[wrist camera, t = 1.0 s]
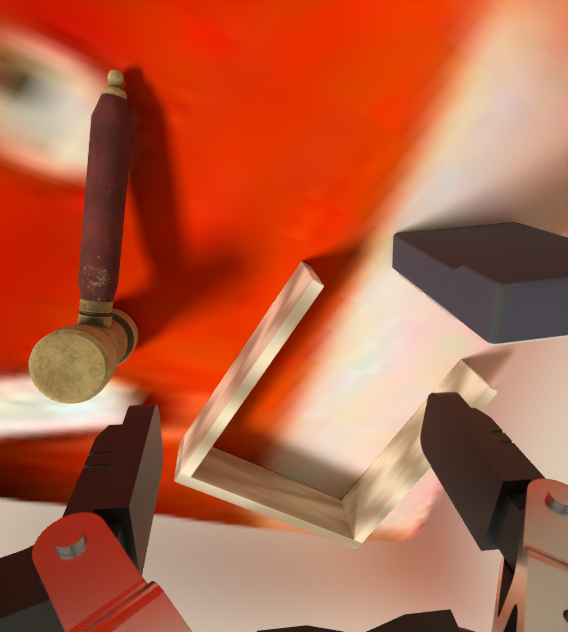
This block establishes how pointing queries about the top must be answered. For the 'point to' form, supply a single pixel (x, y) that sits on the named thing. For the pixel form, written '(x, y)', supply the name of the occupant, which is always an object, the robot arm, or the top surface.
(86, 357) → the gavel
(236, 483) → the beige piece
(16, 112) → the top surface
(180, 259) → the top surface
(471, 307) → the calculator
